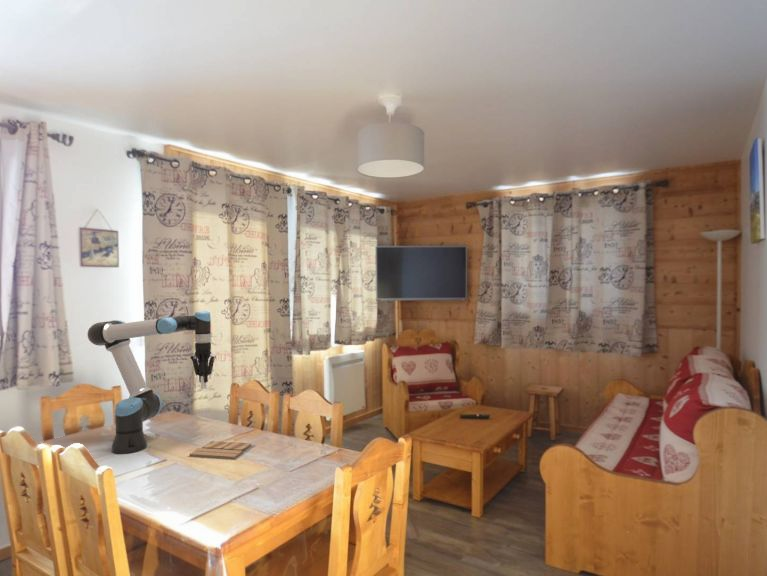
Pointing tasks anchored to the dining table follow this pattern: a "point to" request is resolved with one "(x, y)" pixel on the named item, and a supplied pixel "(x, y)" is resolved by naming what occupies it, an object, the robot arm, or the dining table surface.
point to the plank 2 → (237, 446)
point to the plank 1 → (216, 445)
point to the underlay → (219, 453)
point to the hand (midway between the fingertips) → (203, 388)
